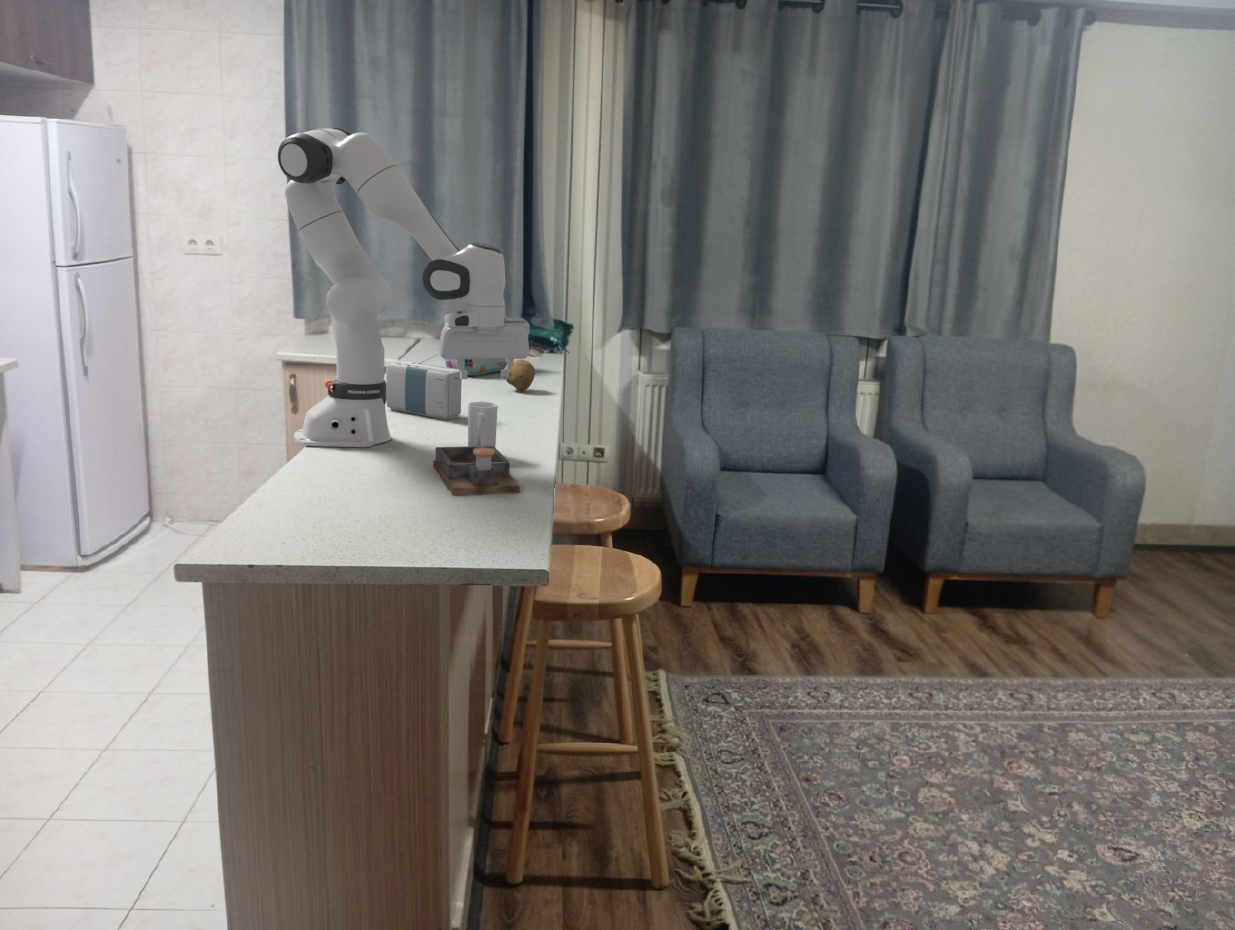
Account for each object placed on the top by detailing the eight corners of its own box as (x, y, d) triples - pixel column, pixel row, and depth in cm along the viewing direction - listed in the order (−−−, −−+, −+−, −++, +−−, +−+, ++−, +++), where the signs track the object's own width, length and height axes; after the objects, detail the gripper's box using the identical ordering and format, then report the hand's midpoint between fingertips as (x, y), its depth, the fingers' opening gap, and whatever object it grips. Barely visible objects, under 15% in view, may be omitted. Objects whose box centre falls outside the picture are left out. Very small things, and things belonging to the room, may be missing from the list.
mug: (469, 450, 240) (470, 400, 237) (497, 452, 240) (499, 402, 237) (463, 461, 230) (464, 409, 227) (492, 462, 230) (494, 411, 227)
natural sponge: (504, 393, 312) (505, 361, 309) (506, 387, 320) (507, 356, 318) (533, 394, 312) (534, 362, 309) (534, 389, 321) (536, 358, 318)
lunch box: (463, 379, 330) (465, 313, 325) (439, 375, 335) (441, 310, 330) (513, 370, 352) (516, 309, 347) (490, 366, 357) (492, 305, 352)
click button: (475, 476, 206) (475, 453, 205) (470, 470, 210) (471, 447, 208) (496, 475, 207) (497, 452, 206) (491, 469, 211) (492, 447, 210)
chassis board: (452, 495, 204) (453, 473, 203) (433, 466, 224) (433, 447, 222) (519, 492, 209) (520, 471, 208) (494, 465, 229) (495, 445, 227)
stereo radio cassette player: (384, 410, 277) (384, 337, 272) (404, 406, 284) (404, 335, 279) (446, 422, 268) (447, 347, 263) (464, 417, 275) (466, 344, 270)
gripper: (526, 316, 233) (524, 375, 237) (437, 315, 226) (437, 376, 230) (533, 319, 228) (532, 379, 231) (442, 319, 221) (442, 381, 224)
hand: (484, 378), depth 231 cm, fingers open, 8 cm apart
